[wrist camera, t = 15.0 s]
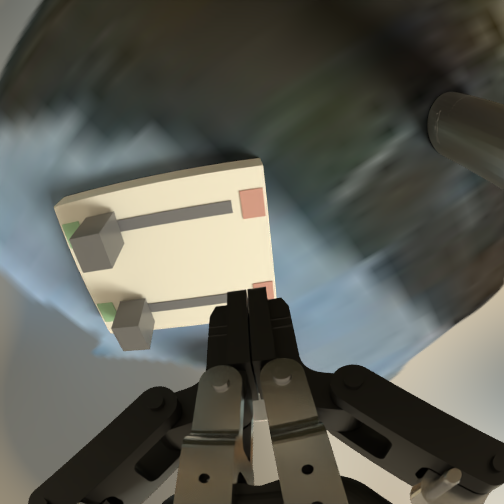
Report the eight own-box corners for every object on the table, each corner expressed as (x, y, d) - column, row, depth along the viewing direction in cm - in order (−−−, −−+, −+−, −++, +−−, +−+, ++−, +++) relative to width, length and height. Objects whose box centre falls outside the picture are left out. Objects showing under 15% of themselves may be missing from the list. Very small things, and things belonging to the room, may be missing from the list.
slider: (145, 298, 38) (138, 326, 33) (155, 321, 40) (149, 349, 35) (120, 301, 38) (111, 328, 33) (130, 323, 40) (123, 351, 35)
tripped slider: (114, 211, 31) (99, 233, 27) (124, 243, 33) (112, 268, 29) (86, 217, 31) (68, 239, 27) (97, 248, 33) (83, 273, 29)
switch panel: (259, 157, 33) (263, 165, 31) (274, 299, 44) (278, 314, 41) (63, 197, 33) (53, 207, 30) (115, 319, 44) (110, 334, 41)
